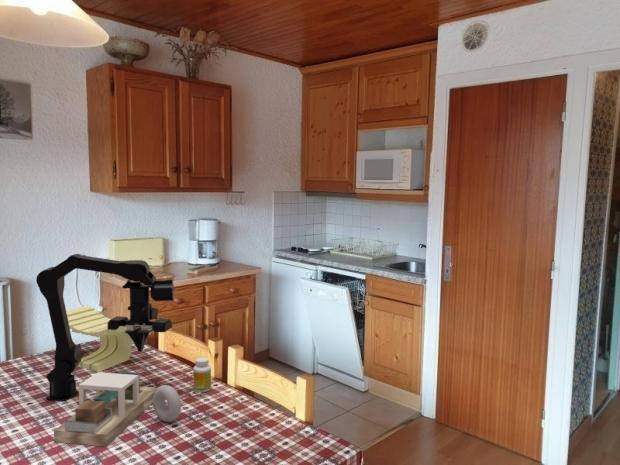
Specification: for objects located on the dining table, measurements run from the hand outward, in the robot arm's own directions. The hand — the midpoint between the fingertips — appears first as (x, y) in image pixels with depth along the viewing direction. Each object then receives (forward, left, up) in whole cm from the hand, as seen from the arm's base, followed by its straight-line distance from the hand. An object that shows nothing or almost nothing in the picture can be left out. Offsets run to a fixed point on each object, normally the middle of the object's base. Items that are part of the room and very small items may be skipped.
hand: (140, 351), depth 153 cm
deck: (0, -18, -13) cm, 22 cm away
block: (0, -27, -10) cm, 29 cm away
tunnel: (0, -18, -10) cm, 21 cm away
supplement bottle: (+18, +5, -13) cm, 23 cm away
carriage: (0, -20, -10) cm, 22 cm away
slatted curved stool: (-26, +23, -13) cm, 37 cm away
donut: (+16, -17, -13) cm, 27 cm away
